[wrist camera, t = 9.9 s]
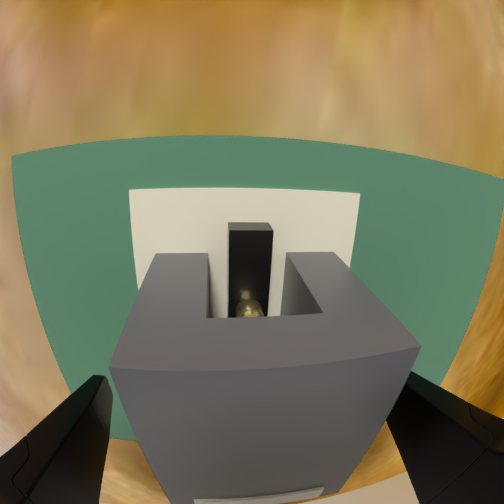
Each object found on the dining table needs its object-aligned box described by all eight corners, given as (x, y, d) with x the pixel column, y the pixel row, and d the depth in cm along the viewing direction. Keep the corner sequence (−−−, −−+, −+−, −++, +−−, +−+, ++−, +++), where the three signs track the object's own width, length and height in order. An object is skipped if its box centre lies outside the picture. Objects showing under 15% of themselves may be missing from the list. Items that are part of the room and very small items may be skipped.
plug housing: (333, 251, 9) (424, 348, 5) (305, 398, 12) (338, 494, 7) (155, 253, 9) (106, 371, 4) (177, 405, 11) (173, 510, 7)
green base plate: (493, 176, 10) (508, 181, 9) (422, 394, 15) (429, 405, 14) (26, 153, 8) (9, 156, 7) (97, 422, 13) (93, 436, 12)
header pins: (268, 222, 9) (288, 253, 6) (254, 417, 12) (262, 461, 10) (227, 222, 9) (233, 253, 6) (228, 418, 12) (233, 463, 10)
